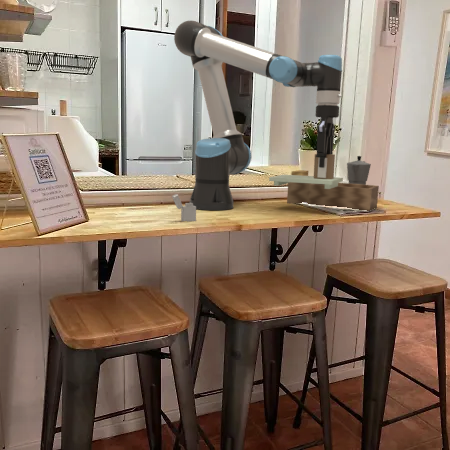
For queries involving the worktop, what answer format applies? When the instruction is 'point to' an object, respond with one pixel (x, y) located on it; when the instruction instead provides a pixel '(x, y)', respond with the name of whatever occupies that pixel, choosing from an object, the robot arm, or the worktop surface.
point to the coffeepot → (358, 171)
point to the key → (300, 172)
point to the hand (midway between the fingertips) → (323, 176)
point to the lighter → (185, 209)
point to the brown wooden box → (334, 195)
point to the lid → (328, 181)
